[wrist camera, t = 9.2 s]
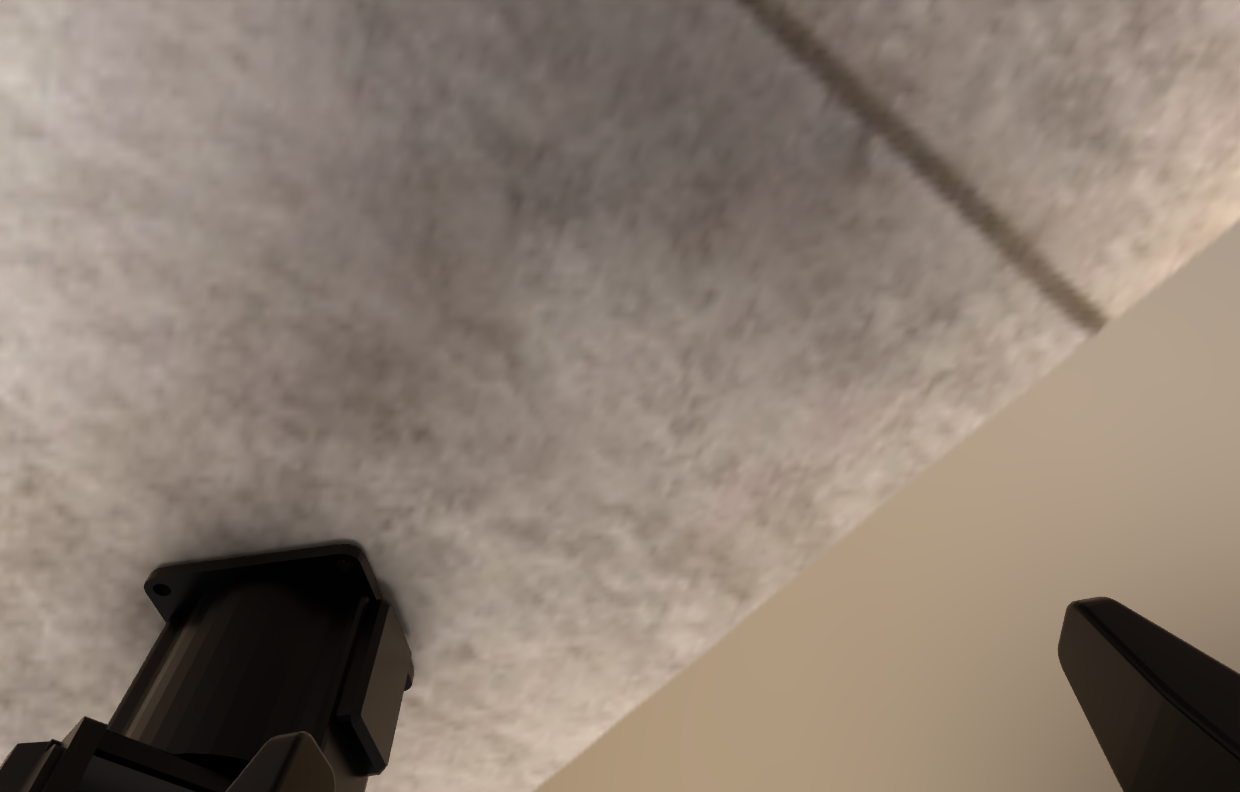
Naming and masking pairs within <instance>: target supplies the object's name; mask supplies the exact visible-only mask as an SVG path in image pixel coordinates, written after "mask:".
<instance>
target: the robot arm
mask: <svg viewBox="0 0 1240 792" xmlns="http://www.w3.org/2000/svg"><path fill="white" fill-rule="evenodd" d="M342 560H347V561H350V562H344V561H342ZM144 589H145V592H146V593H147V595H148V596H149V598H150V599H151V601H152V602H153V604H154V605H155V607H156V608H157V610H158V611H159V613H160V614H161V616H162V617H163V619H164V620H165V622H166V625H165V627H164V628H163V630H162V632H161V633H160V635H159V637H158V639H157V640H156V642H155V644H154V646H153V647H152V649H151V651H150V652H149V654H148V656H147V658H146V659H145V661H144V663H143V665H142V666H141V668H140V670H139V672H138V673H137V675H136V677H135V678H134V680H133V682H132V684H131V685H130V687H129V689H128V691H127V692H126V694H125V696H124V697H123V699H122V701H121V703H120V704H119V706H118V708H117V710H116V711H115V713H114V715H113V716H112V718H111V720H110V722H109V723H108V725H107V724H104V723H102V722H99V721H96V720H94V719H91V718H88V717H86V716H84V717H83V718H82V719H81V720H80V721H79V723H78V724H77V725H76V726H75V727H74V728H73V729H72V731H71V732H70V733H69V734H68V735H67V736H66V737H65V739H64V740H63V741H62V742H60V741H57V740H54V739H52V740H51V741H49V742H34V743H20V744H17V745H16V746H15V748H14V749H13V750H12V751H11V752H10V754H9V755H8V756H7V757H6V759H5V760H4V762H3V763H2V765H1V766H0V792H365V789H366V785H367V781H368V777H369V776H373V775H380V774H381V773H382V772H383V770H384V769H385V768H386V766H387V765H388V761H389V757H390V752H391V748H392V743H393V738H394V734H395V729H396V725H397V720H398V715H399V711H400V706H401V702H402V697H403V692H404V691H406V690H408V689H409V688H410V687H411V686H412V682H413V678H414V670H413V668H412V665H411V663H410V660H411V651H410V648H409V646H408V644H407V641H406V639H405V636H404V634H403V632H402V629H401V627H400V625H399V622H398V620H397V617H396V615H395V613H394V610H393V608H392V606H391V604H390V603H389V602H388V601H387V600H386V599H383V597H382V595H381V593H380V590H379V588H378V586H377V583H376V581H375V579H374V576H373V574H372V572H371V569H370V567H369V564H368V562H367V560H366V557H365V555H364V553H363V552H362V551H361V549H359V548H358V547H356V546H353V545H350V544H340V545H332V546H325V547H317V548H309V549H302V550H294V551H287V552H279V553H271V554H264V555H256V556H249V557H241V558H233V559H226V560H218V561H211V562H203V563H195V564H188V565H180V566H173V567H165V568H159V569H156V570H154V571H153V572H152V573H151V574H150V576H149V577H148V579H147V580H146V582H145V584H144ZM1058 656H1059V660H1060V663H1061V666H1062V669H1063V671H1064V672H1065V675H1066V677H1067V679H1068V681H1069V683H1070V685H1071V687H1072V689H1073V691H1074V693H1075V695H1076V697H1077V699H1078V701H1079V703H1080V705H1081V707H1082V709H1083V711H1084V713H1085V715H1086V717H1087V720H1088V721H1089V724H1090V726H1091V728H1092V729H1093V732H1094V734H1095V736H1096V738H1097V740H1098V742H1099V744H1100V746H1101V748H1102V750H1103V752H1104V754H1105V756H1106V758H1107V760H1108V762H1109V764H1110V766H1111V768H1112V770H1113V772H1114V774H1115V776H1116V778H1117V780H1118V782H1119V784H1120V786H1121V788H1122V789H1123V792H1240V674H1239V673H1237V672H1236V671H1234V670H1232V669H1231V668H1229V667H1227V666H1225V665H1224V664H1222V663H1220V662H1219V661H1217V660H1215V659H1214V658H1212V657H1210V656H1209V655H1207V654H1205V653H1204V652H1202V651H1200V650H1198V649H1197V648H1195V647H1193V646H1192V645H1190V644H1188V643H1187V642H1185V641H1183V640H1182V639H1180V638H1178V637H1176V636H1175V635H1173V634H1171V633H1169V632H1168V631H1166V630H1165V629H1163V628H1161V627H1160V626H1158V625H1156V624H1155V623H1153V622H1151V621H1149V620H1147V619H1146V618H1144V617H1142V616H1141V615H1139V614H1137V613H1136V612H1134V611H1132V610H1131V609H1129V608H1127V607H1126V606H1124V605H1122V604H1121V603H1119V602H1117V601H1115V600H1113V599H1111V598H1108V597H1095V598H1089V599H1083V600H1078V601H1073V602H1071V604H1069V605H1068V607H1067V609H1066V613H1065V617H1064V622H1063V626H1062V631H1061V635H1060V640H1059V644H1058Z"/></svg>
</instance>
